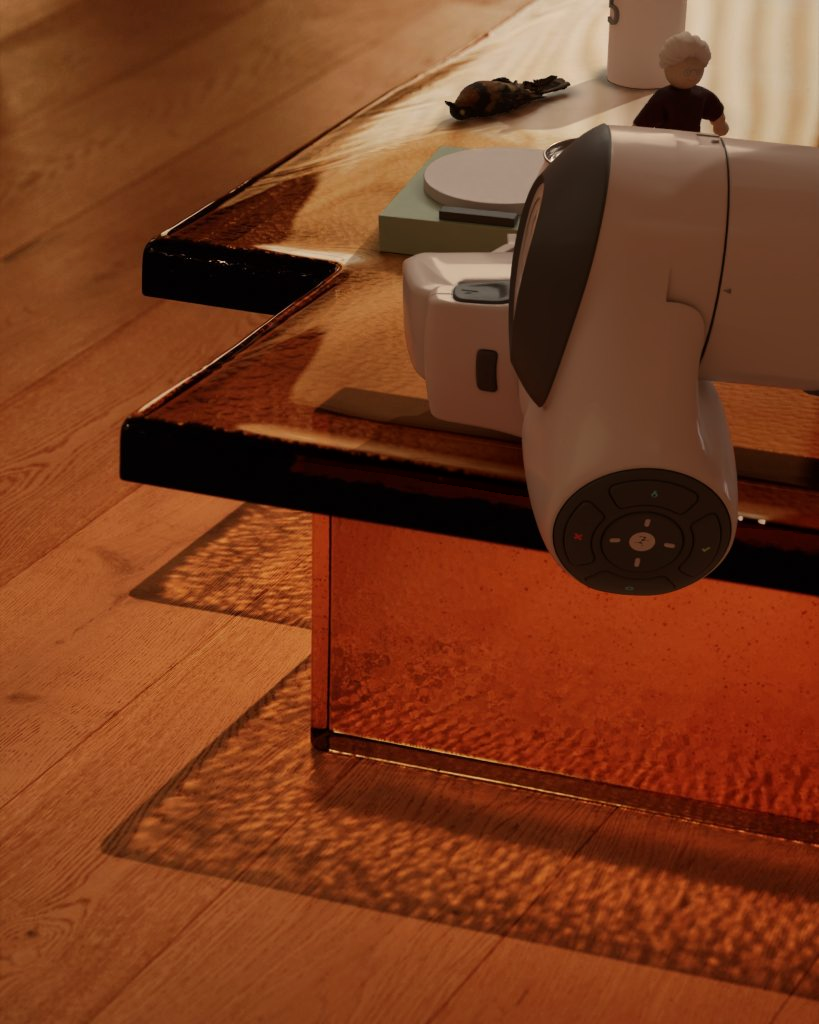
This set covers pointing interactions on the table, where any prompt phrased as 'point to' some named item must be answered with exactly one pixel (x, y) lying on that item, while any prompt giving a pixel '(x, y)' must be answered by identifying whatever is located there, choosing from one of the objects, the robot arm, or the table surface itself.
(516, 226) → the scale
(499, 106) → the bird model
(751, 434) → the table surface
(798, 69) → the table surface
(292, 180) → the table surface
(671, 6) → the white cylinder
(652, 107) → the grandmother figurine
